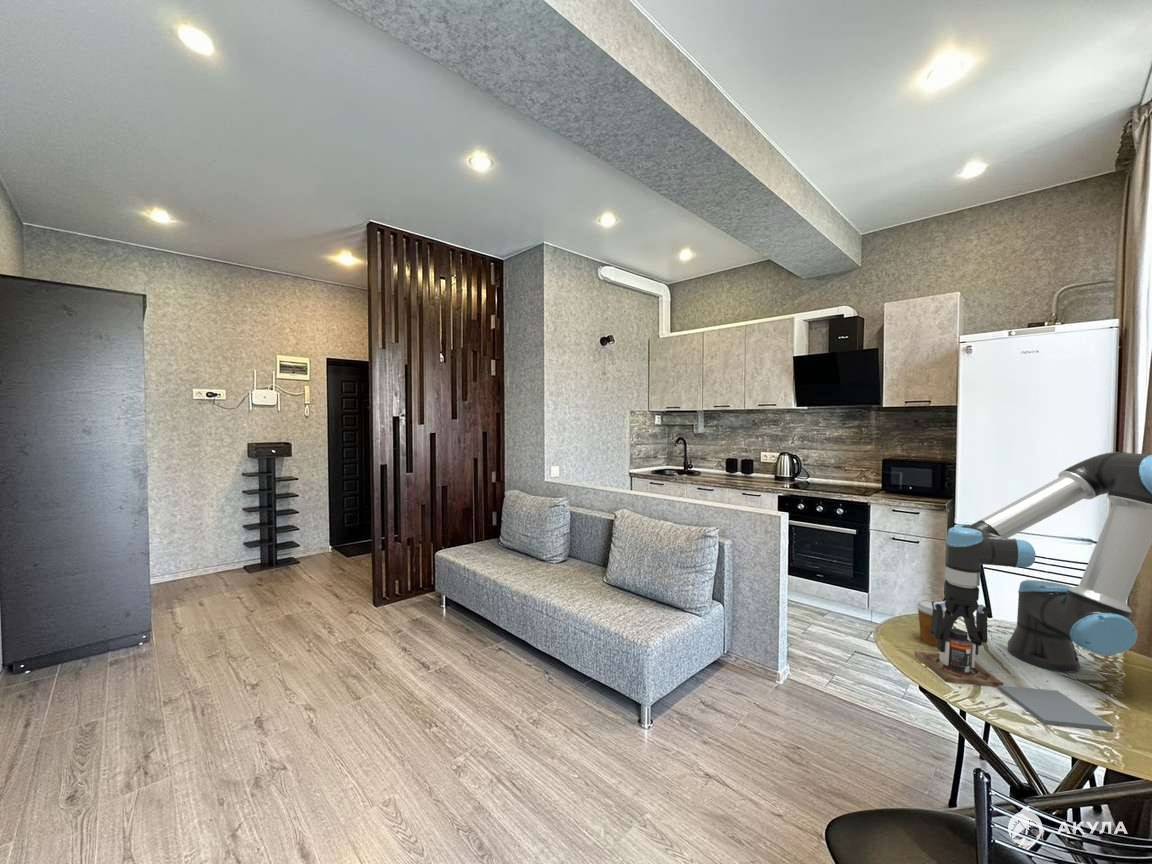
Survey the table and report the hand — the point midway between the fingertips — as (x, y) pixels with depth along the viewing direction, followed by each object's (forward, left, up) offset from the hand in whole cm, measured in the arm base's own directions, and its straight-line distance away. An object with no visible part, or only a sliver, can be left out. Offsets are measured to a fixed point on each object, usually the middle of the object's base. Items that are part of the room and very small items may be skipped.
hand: (956, 663), depth 130 cm
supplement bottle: (0, 0, -2) cm, 2 cm away
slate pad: (-12, +15, -2) cm, 19 cm away
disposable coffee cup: (-4, -17, -2) cm, 18 cm away
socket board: (0, 0, -2) cm, 2 cm away
